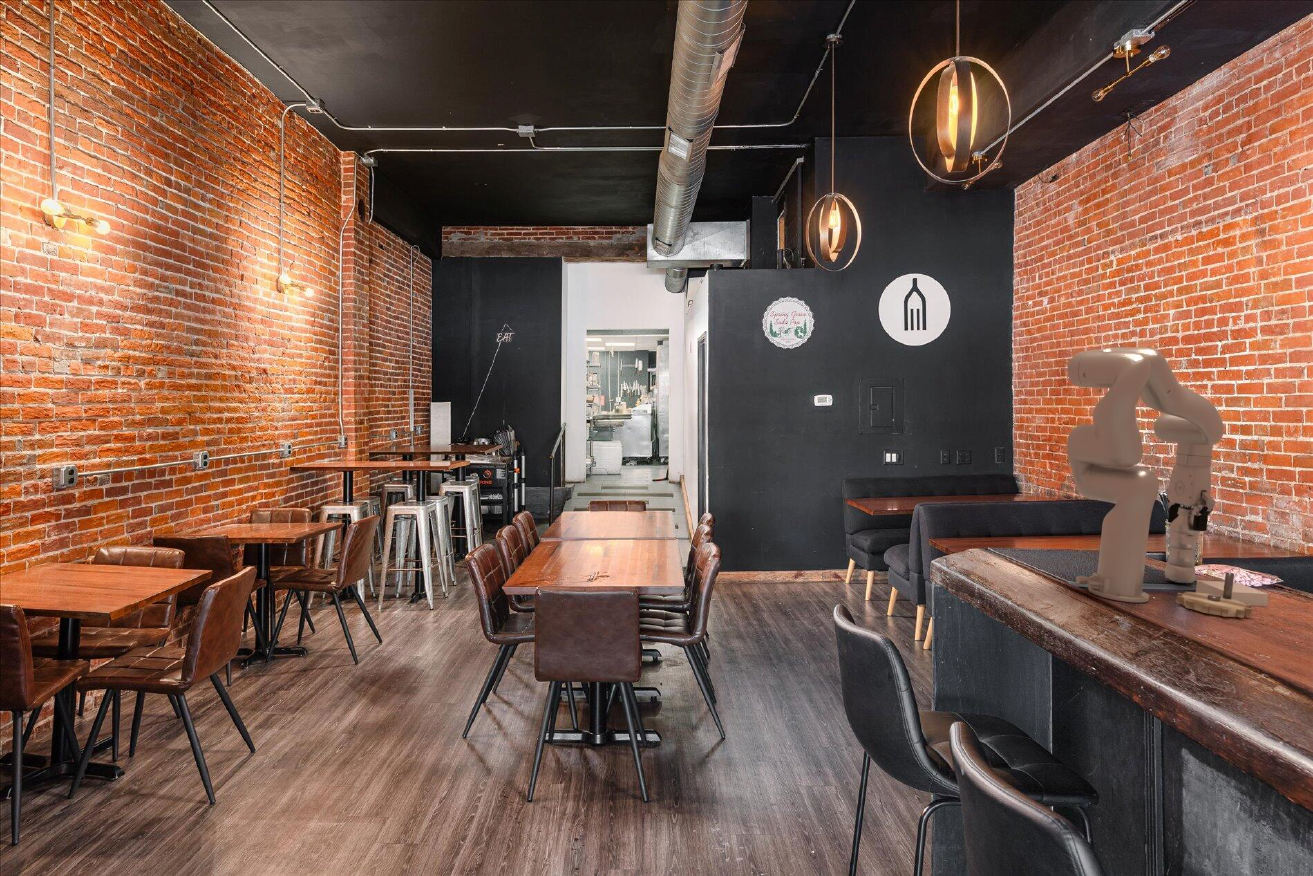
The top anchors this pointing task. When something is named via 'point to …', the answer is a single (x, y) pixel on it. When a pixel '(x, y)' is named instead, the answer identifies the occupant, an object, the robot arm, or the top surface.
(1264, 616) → the top surface
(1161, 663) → the top surface
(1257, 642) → the top surface
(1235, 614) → the base with upright peg
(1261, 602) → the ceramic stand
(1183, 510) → the plastic bottle
